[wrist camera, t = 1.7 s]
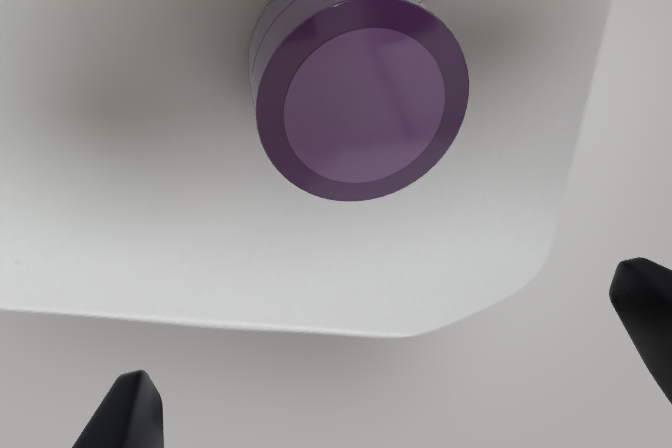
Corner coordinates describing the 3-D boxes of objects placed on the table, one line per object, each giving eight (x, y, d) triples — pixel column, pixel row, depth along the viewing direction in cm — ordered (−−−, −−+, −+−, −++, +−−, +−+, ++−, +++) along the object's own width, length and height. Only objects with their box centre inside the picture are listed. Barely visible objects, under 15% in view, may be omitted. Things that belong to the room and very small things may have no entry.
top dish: (463, -20, 15) (492, -3, 14) (429, 166, 19) (448, 196, 18) (245, -22, 14) (249, -5, 13) (256, 176, 18) (261, 209, 17)
